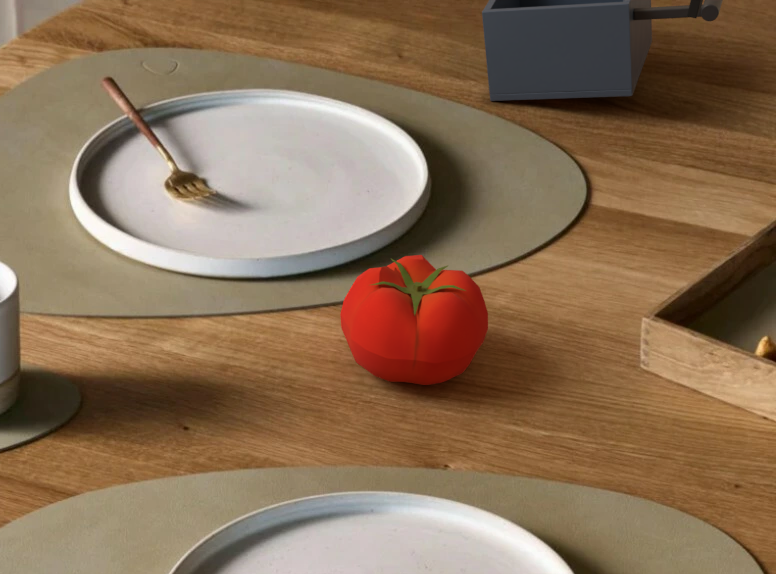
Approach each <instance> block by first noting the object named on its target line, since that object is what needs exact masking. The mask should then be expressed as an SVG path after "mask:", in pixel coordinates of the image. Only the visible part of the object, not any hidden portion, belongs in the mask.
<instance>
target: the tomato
mask: <svg viewBox="0 0 776 574" xmlns="http://www.w3.org/2000/svg"><path fill="white" fill-rule="evenodd" d="M390 260H391V261H392V263H390V264H388V265H385V266H381V267H379V266H378V267H369V268H368V269H366V270H365V271H363V272H362V273H361V274H359V275H358V276H357V277H356V279H355V280H354V281H353V284H352V285H351V287H350V288H349V290H348V292H347V293H346V295H345V297H344V299H343V302H342V306H341V310H340V314H339V315H340V326H341V327H340V328H341V330H342V334H343V335H344V338H345V340H346V343H347V345H348V348H349V350H350V352H351V355H352V356H353V358H354V361H355V363H356V364H358V365H359V366H360V367H362V368H363V369H364V370H365V371H366V372H368V373H370V374H371V375H373V377H376V378H379V379H382V380H384V381H388V382H393V383H409V384H415V385H421V386H430V385H437V384H441V383H444V382H447V381H449V380H451V379H453V378H455V377H458V376H460V375H462V374H464V372H465V371H466V370H467V368H469V366H470V364H471V363H472V361H473V359H474V358H475V355H476V354H477V352H478V351H479V349H480V348H481V346H483V344H484V342H485V340H486V336H487V333H488V331H489V311H488V308H487V305H486V302H485V298H484V296H483V293H482V290H481V287H480V286H479V285H478V284H477V283H476V282H475V281H474V279H472V277H471V276H470V275H469V274H467V273H466V272H465V271H463V270H458V269H446V268H448V267H449V265H450V264H448V265H445V266H442V267H438V268H437V269H436V268H435V267H434V265H432V264H431V263H430V261H428V259H426V258H425V257H424V255H422V254H415V255H405V256H403V257H401V258H399V259H397V260H395V259H393V258H390Z"/></svg>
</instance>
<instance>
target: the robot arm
mask: <svg viewBox="0 0 776 574" xmlns="http://www.w3.org/2000/svg"><path fill="white" fill-rule="evenodd" d="M703 3H704V0H690V1H689V4H688V5H689V9H688V13H687V17H688V18H691V19H697V18H698V17H697V16H698V13H699V11H700V9H701V6H702V5H703Z"/></svg>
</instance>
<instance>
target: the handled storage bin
mask: <svg viewBox="0 0 776 574" xmlns="http://www.w3.org/2000/svg"><path fill="white" fill-rule="evenodd" d="M723 2H724V1H723V0H703V3H702V6H701V9H700V11H699V13H698V16H697V18H701V19H703V20H704V21H706V22H714V21H715V20H717V18H718V17H719V15H720V11H721V6H722V4H723ZM689 5H690V4H688V5H687V4H686V5H685V4H684V5H669V6H652V0H488V1H487V3H486V5H485V6H484V8H483V9H482V11H481V16H482V29H483V40H484V50H485V60H486V71H487V83H488V92H489V93H488V94H489V100H490V102H501V101H502V102H503V101H505V102H506V101H530V100H534V101H535V100H556V99H557V100H560V99H561V100H563V99H583V98H584V99H586V98H587V99H588V98H591V99H593V98H615V97H617V98H618V97H619V98H620V97H633V96H634V93H635V90H636V88H637V85H638V82H639V79H640V76H641V73H642V70H643V67H644V65H645V62H646V59H647V57H648V54H649V51H650V48H651V45H652V43H653V26H652V25H653V22H652V21H653V20H669V19H684V18H686V19H687V18H689V17H687V13H688V9H689Z"/></svg>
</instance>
